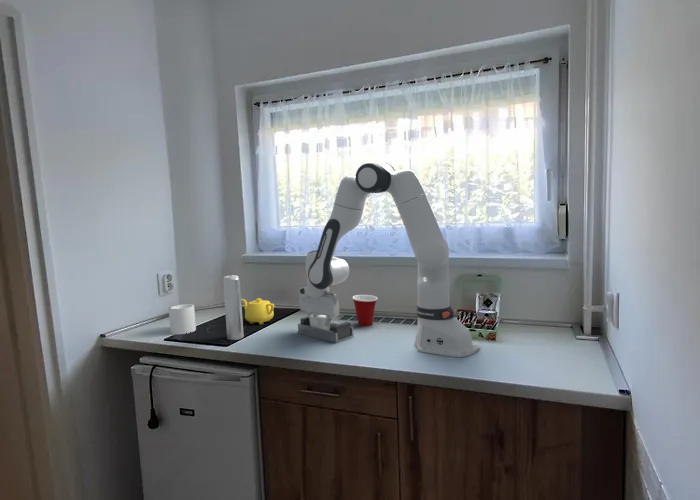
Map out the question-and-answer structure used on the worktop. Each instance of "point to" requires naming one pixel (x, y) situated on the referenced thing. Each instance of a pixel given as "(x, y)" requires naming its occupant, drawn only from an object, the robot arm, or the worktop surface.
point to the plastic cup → (365, 308)
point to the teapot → (258, 311)
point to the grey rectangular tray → (326, 331)
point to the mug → (182, 319)
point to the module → (319, 322)
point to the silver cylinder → (233, 307)
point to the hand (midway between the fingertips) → (319, 324)
